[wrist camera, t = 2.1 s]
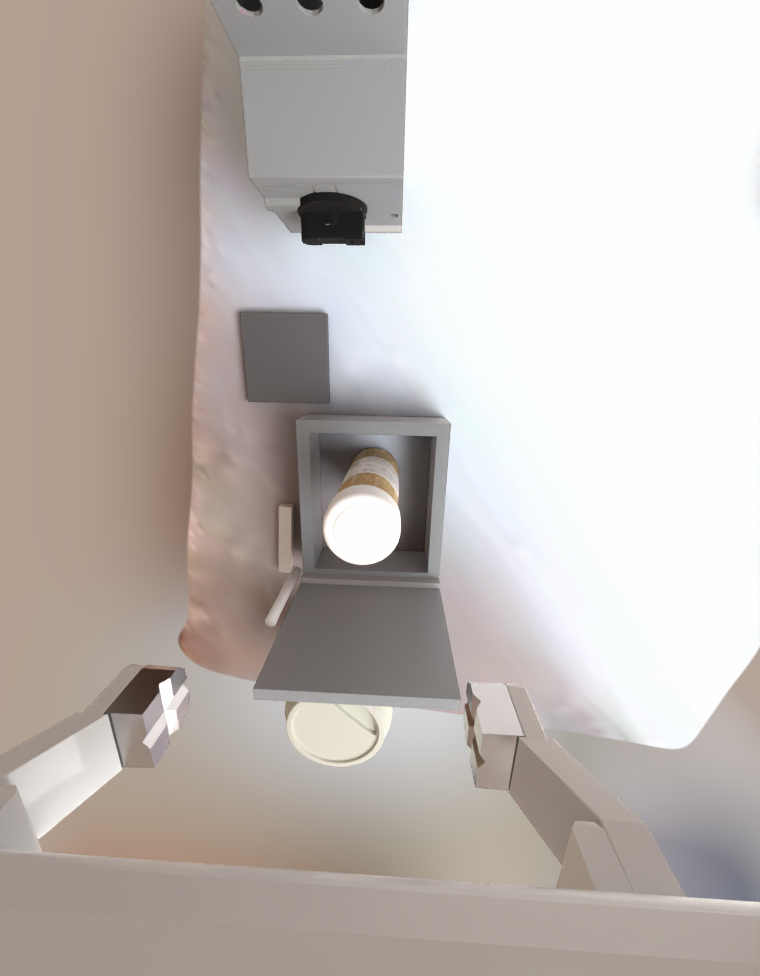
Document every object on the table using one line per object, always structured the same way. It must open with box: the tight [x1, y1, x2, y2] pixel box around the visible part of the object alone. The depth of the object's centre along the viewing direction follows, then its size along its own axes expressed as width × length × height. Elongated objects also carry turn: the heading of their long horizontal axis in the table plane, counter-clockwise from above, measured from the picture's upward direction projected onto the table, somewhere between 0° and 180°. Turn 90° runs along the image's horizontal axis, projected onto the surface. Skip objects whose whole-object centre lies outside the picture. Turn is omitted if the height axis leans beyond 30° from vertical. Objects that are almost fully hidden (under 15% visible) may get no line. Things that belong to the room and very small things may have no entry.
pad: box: [240, 312, 330, 404], centre depth 31 cm, size 7×7×1 cm
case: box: [253, 414, 461, 711], centre depth 27 cm, size 15×13×16 cm
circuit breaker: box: [210, 0, 409, 245], centre depth 20 cm, size 8×14×15 cm, turn 179°
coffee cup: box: [285, 701, 393, 767], centre depth 33 cm, size 8×8×12 cm
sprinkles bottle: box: [323, 448, 401, 565], centre depth 27 cm, size 5×5×13 cm
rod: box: [279, 503, 294, 573], centre depth 36 cm, size 7×1×1 cm, turn 175°
